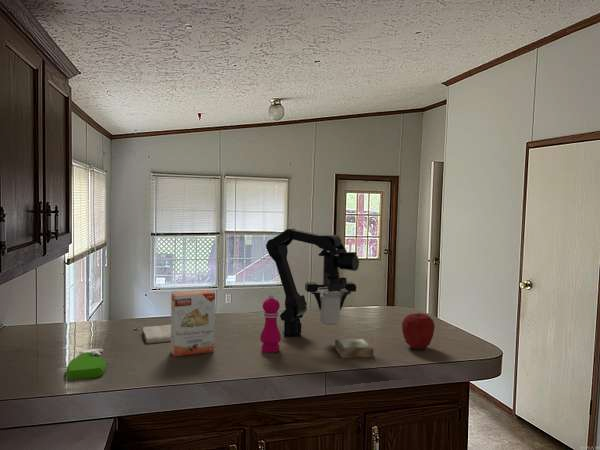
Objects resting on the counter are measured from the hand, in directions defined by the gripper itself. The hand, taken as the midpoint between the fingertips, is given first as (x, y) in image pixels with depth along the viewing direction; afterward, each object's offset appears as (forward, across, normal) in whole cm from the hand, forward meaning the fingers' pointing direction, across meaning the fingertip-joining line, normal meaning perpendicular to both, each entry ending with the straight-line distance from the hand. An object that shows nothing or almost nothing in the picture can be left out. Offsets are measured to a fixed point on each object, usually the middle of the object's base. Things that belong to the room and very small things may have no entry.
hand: (330, 309), depth 177 cm
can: (+5, 0, 0) cm, 5 cm away
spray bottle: (+13, -82, -18) cm, 84 cm away
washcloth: (+13, -64, +13) cm, 67 cm away
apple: (+13, +31, -10) cm, 35 cm away
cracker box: (+12, -50, -8) cm, 52 cm away
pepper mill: (+12, -23, -8) cm, 27 cm away
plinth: (+12, +6, -13) cm, 19 cm away
